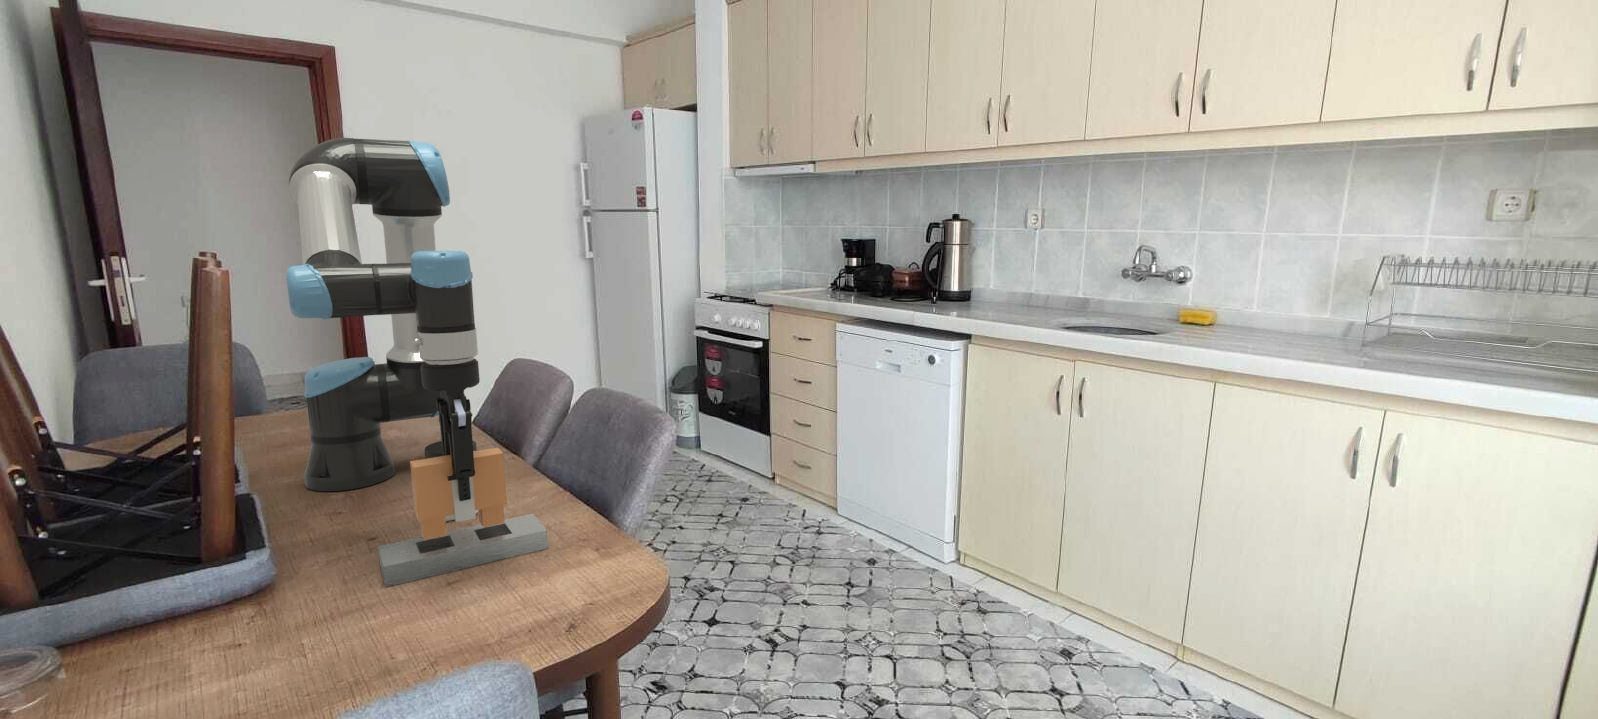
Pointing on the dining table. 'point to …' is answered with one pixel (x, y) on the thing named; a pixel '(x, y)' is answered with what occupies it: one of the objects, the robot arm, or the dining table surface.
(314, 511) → the dining table surface
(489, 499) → the tan notched block
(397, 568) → the grey slotted block
